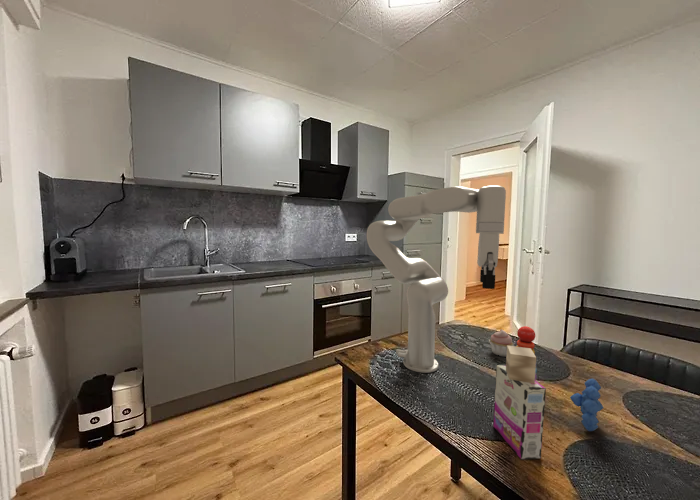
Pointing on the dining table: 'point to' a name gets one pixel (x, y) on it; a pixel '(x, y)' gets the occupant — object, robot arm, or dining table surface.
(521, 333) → the stacking toy
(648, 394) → the dining table surface
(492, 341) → the cupcake
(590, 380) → the grapes
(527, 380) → the beech block
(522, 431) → the candy bar box
